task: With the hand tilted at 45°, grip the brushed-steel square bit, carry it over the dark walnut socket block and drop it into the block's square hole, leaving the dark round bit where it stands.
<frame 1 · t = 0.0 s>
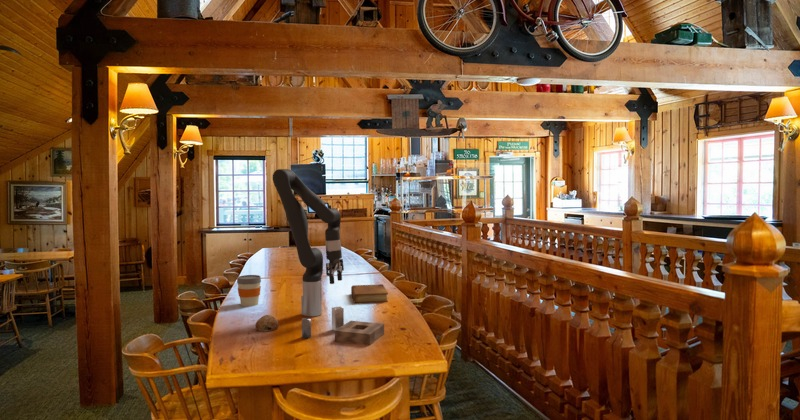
hand: (336, 282, 255), 17 cm above the table, tool pointing down, fingers open, 8 cm apart
round bit: (306, 337, 223), on the table
square bit: (337, 330, 233), on the table
socket block: (360, 337, 222), on the table
bread roll: (266, 329, 236), on the table
reusable coffee cup: (249, 304, 282), on the table
diary: (369, 299, 295), on the table
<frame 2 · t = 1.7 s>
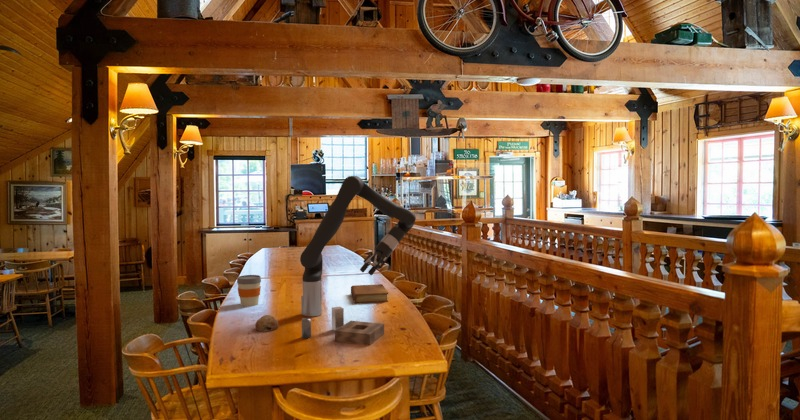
hand: (365, 272, 239), 25 cm above the table, tool tilted 45°, fingers open, 8 cm apart
nothing on the table moved.
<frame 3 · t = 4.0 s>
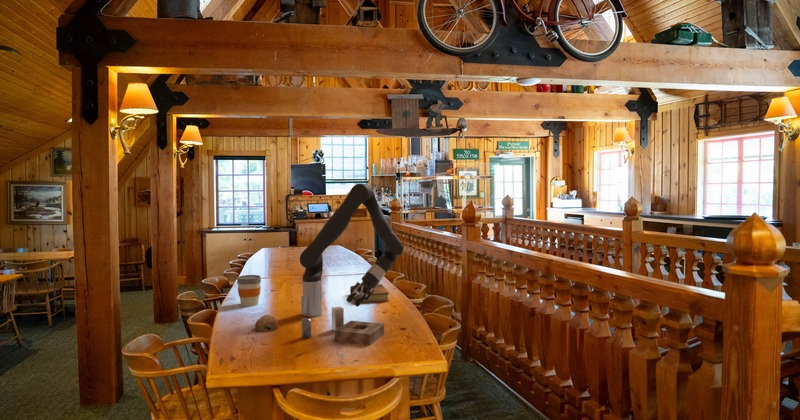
hand: (351, 303, 236), 11 cm above the table, tool tilted 45°, fingers open, 8 cm apart
nothing on the table moved.
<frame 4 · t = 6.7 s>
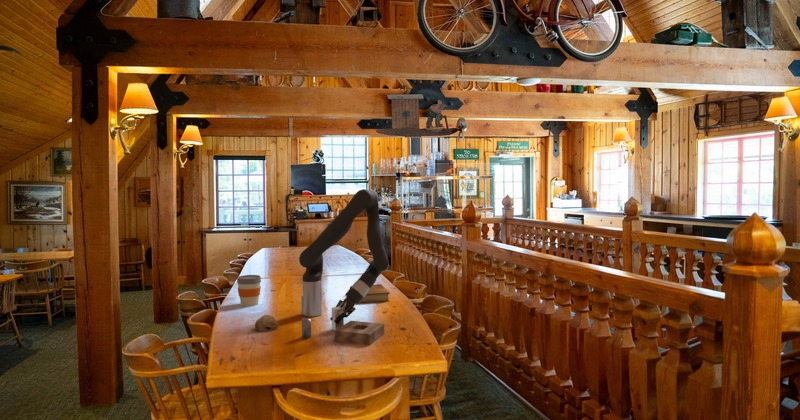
hand: (333, 321, 232), 4 cm above the table, tool tilted 45°, fingers closed on square bit, 4 cm apart
square bit: (337, 329, 233), on the table, touching gripper
everything else where it was.
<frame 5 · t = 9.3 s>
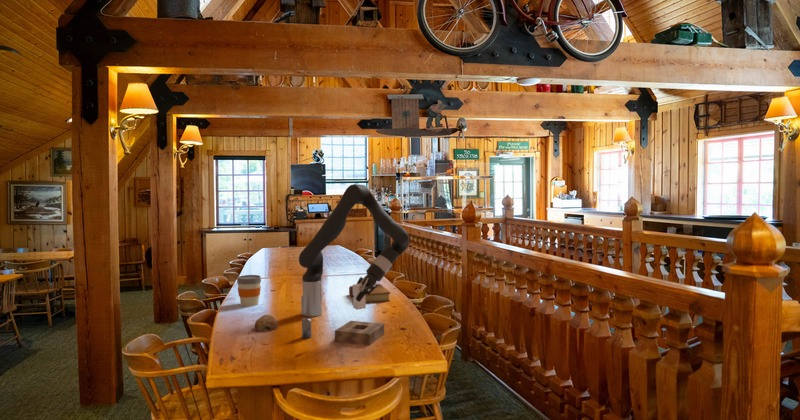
hand: (355, 299, 221), 17 cm above the table, tool tilted 45°, fingers closed on square bit, 4 cm apart
square bit: (359, 308, 222), point 13 cm above the table, touching gripper
everything else where it was.
when the fingers open (6 cm above the table, at t = 12.2 s): square bit drops 2 cm, resting in socket block.
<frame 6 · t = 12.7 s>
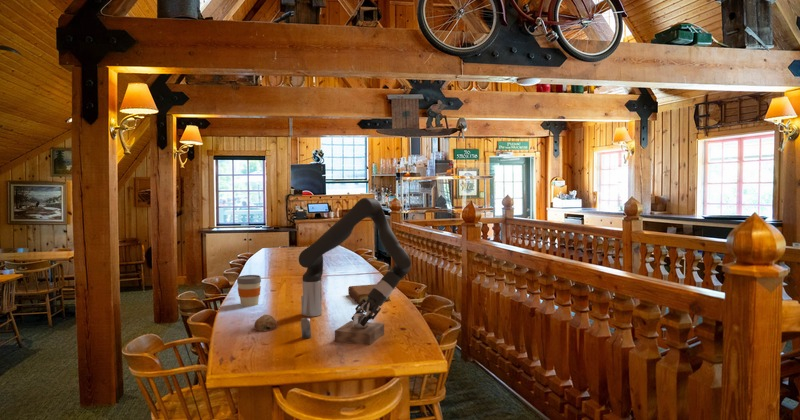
hand: (357, 322, 221), 7 cm above the table, tool tilted 45°, fingers open, 8 cm apart
square bit: (360, 337, 222), resting in socket block
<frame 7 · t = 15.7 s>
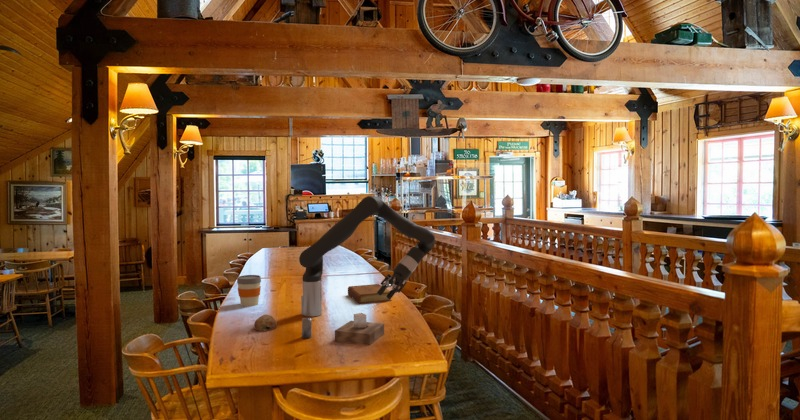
hand: (383, 296, 227), 17 cm above the table, tool tilted 45°, fingers open, 8 cm apart
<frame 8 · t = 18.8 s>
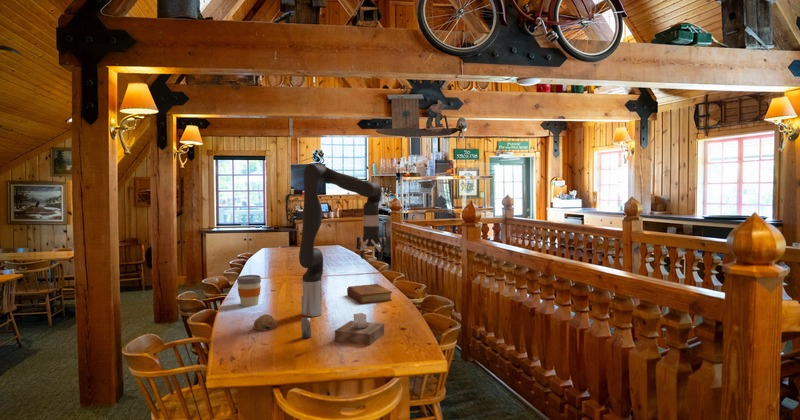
hand: (371, 259, 243), 30 cm above the table, tool pointing down, fingers open, 8 cm apart
at the end: square bit 0.1 cm off-centre on the socket block, point 0.0 cm above the socket block's base; square bit tilted 0°; round bit moved 0.1 cm from its start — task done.
